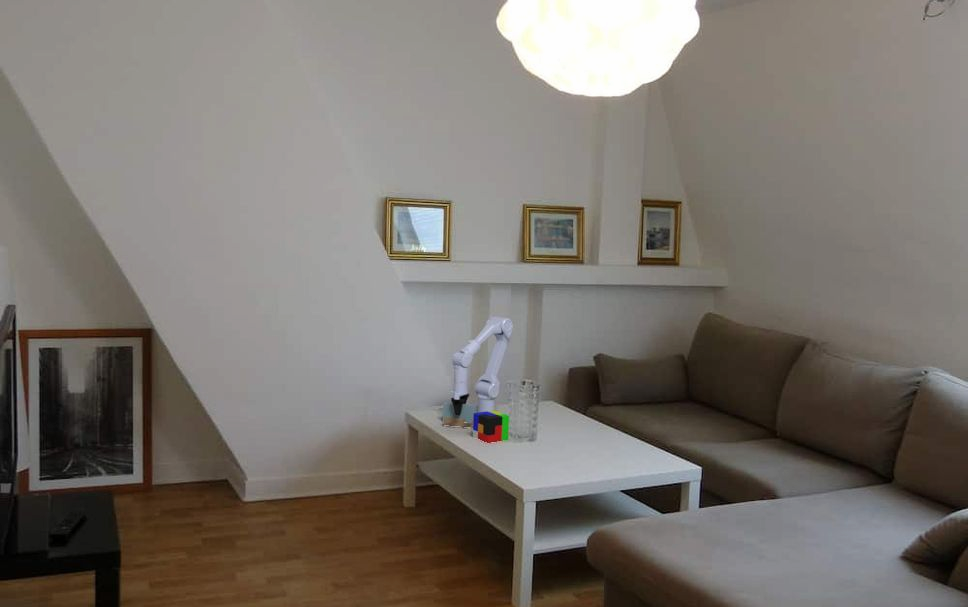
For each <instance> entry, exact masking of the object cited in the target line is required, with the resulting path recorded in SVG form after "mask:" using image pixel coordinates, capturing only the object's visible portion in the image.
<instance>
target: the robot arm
mask: <svg viewBox="0 0 968 607" xmlns="http://www.w3.org/2000/svg"><path fill="white" fill-rule="evenodd" d="M485 322H486V323H485V326H484V327H483V329H481V331H480V332H479V333H478V335H477V336H475V339H470V340H468V341H467V343H466V344H465V345H463V347H462V348H461V349H460V351H457V352H455V353H454V354H453V356H452V358H451V363H452V365H453V369H454V370H453V374H454V375H453V390H450V393H451V394H453V395H454V397H451V399H450V401H451V403H453V406H454V411H455V415H461V410H462V405H463V404H467V402H468V399H469V397H470V394H469V392H468V385H469V383H468V379H469V367H470V365H471V364H472V361H473V358H474V357H475V355H476V354H478V352H480V350H481V349H482V344H484V343H485V342H486V340H488V339H489V338H490V337H492V336H494V337H495V339H496V341H495V344H494V347H493V350H492V353H491V355H490V359H489V361H488V364H487V367H486V370H485V373H484V374H482V375H481V376H480V377H479V378H478V380H477V382H476V383H475V385H474V392H475V394H476V397H477V413H479V412H486V411H493V410H494V411H496V399H497V397H498V396H499V393H500V385H501V383H500V381H499V379H498V377H499V373H500V371H501V367H502V365H503V362H504V360H505V356H506V353H507V351H508V347H509V344H510V342H511V337H512V336H511V335H512V332H513V329H514V324H513V322H512V320H511V318H508V317H502V316H497V315H491V316H490V317H489V318H488V320H486V321H485Z"/></svg>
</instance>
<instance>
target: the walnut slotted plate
mask: <svg viewBox="0 0 968 607" xmlns="http://www.w3.org/2000/svg"><path fill="white" fill-rule="evenodd" d="M444 425H449V426H460V427H471V428H473V419H472V423H464V419H462V418H450V417H444V422H443V426H444Z"/></svg>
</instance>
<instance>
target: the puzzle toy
mask: <svg viewBox="0 0 968 607" xmlns="http://www.w3.org/2000/svg"><path fill="white" fill-rule="evenodd" d="M509 429H510V415H508V414H506V413H504V412H503V413H502V412H499V411H497V410H495V411H494V410H493V411H486V412H479V413H478V412H477V413H474V415H473V429H472V438H473V437H475V438H478V439H480V440H482V441H484V442H487V443H490V444H492V443H491V442H496V443H498V442H497V441H502V442H504V441H503V440H508V441H509V435H510V434H509V431H510V430H509ZM482 441H481V442H482ZM484 442H483V443H484ZM487 443H486V444H487Z"/></svg>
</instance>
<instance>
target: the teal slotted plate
mask: <svg viewBox="0 0 968 607" xmlns="http://www.w3.org/2000/svg"><path fill="white" fill-rule="evenodd" d="M442 404H443V405H442V422H443V421H444V417H450V418H462V419H464V422H467V423H472V419H473V415H474V413H478V404H471V403H470V404H468V403H466V404H463V405H462V410H461V415H455V411H454V406H453V403H452V402H443V403H442Z"/></svg>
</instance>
